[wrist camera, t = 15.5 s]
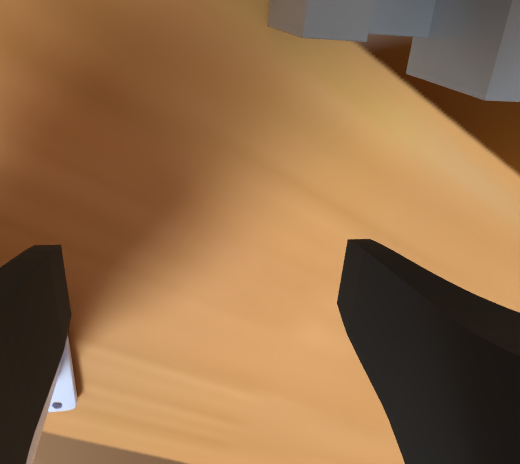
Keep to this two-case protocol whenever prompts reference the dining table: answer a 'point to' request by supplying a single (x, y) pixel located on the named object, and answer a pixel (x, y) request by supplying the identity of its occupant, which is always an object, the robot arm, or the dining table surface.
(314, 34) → the grey stepped block
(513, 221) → the dining table surface
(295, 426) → the dining table surface
